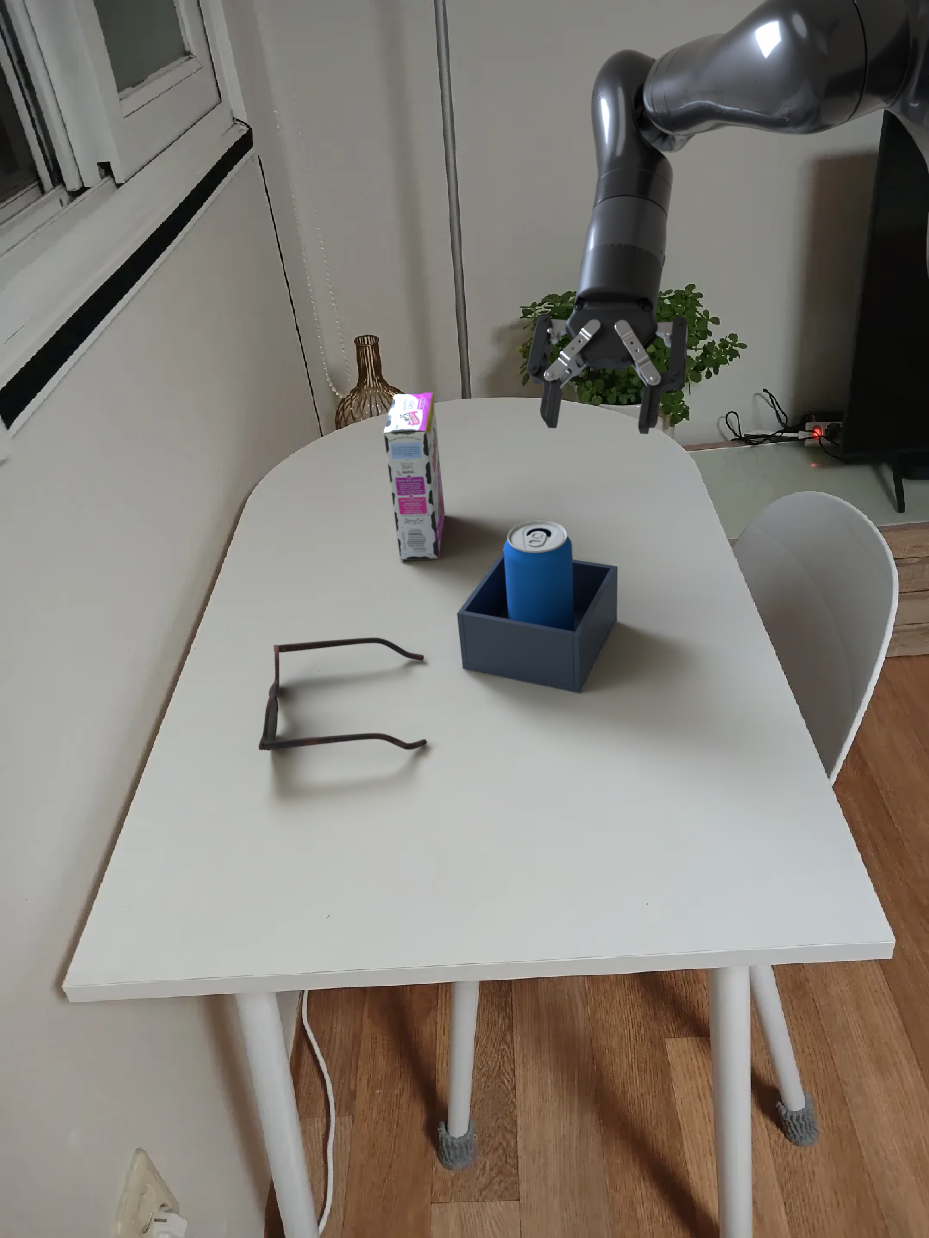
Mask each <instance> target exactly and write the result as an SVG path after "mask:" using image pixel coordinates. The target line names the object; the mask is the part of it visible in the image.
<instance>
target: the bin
mask: <svg viewBox="0 0 929 1238" xmlns="http://www.w3.org/2000/svg"><path fill="white" fill-rule="evenodd" d="M572 565H573V612H574V631H569V630H563V629H558V628H553V627H547V626H542V625H537V624H531V623H526V622H521V621H515V620H510V619H509V618H508V604H507V590H506V575H505V561H504V549H503V550H502V551H501V553H500V554H499V555H498V557H497V558H496V559H495V561H494V562H493V563H492V565H491V566H490V567H489V568H488V570H487V572H486V573H485V574H484V576H483V577H482V578H481V580H480V581H479V582H478V584H477V585H476V587H474V590H473V591H472V592H471V593H470V595H469V596H468V597H467V598H466V600H465V601H464V603H463V604H462V606H461V607H460V608H459V610H458V611H456V618H457V628H458V637H459V646H460V654H461V655H460V656H461V665H462V669H463V670H466V671H467V670H468V671H473V672H477V673H480V674H486V675H491V676H494V677H495V676H496V677H500V678H505V679H509V680H515V681H519V682H523V683H529V684H533V685H538V686H542V687H547V688H551V689H556V690H561V691H566V692H570V693H574V694H576V693H577V694H581V692H582V690H583V689H584V686H585V685H586V683H587V680H588V679H589V678H590V675H591V673H592V671H593V670H594V667H595V665H596V664H597V662H598V659H599V658H600V655H601V653H602V652H603V649H604V647H605V646H606V644H607V642H608V640H609V638H610V635H611V634H612V632H613V630H614V628H615V626H616V624H617V623H618V577H619V576H618V570H619V567H618V566H617V565H611V564H605V563H599V562H592V561H587V560H581V559H574V558H572Z"/></svg>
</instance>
